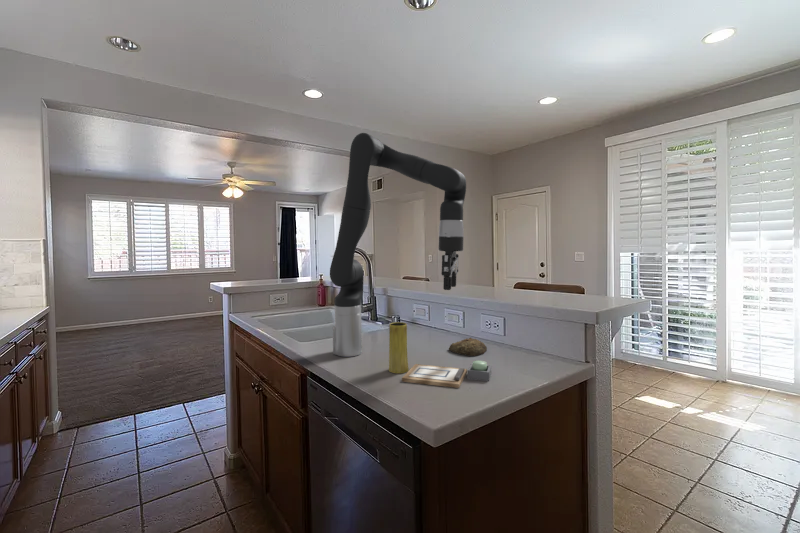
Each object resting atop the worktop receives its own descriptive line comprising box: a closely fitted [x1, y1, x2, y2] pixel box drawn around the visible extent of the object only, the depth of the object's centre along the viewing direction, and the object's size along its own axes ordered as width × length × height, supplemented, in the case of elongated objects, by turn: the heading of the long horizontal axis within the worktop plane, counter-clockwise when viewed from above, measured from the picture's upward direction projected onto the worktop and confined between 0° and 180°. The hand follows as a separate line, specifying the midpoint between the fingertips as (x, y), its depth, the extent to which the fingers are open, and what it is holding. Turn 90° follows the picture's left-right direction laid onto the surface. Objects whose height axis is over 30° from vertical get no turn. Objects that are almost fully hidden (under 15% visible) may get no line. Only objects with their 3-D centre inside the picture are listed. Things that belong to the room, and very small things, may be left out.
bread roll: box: [448, 337, 488, 357], centre depth 135 cm, size 13×12×5 cm
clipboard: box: [401, 363, 468, 389], centre depth 108 cm, size 16×13×2 cm
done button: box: [472, 360, 488, 371], centre depth 108 cm, size 4×4×2 cm
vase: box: [388, 321, 410, 374], centre depth 113 cm, size 6×6×14 cm
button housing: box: [466, 363, 492, 382], centre depth 108 cm, size 6×6×2 cm
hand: (449, 288), depth 116 cm, fingers open, 8 cm apart
